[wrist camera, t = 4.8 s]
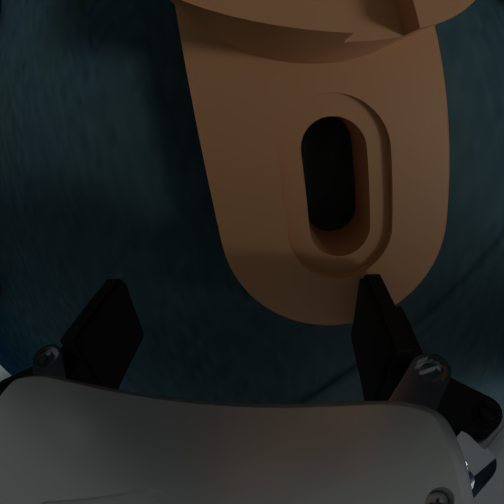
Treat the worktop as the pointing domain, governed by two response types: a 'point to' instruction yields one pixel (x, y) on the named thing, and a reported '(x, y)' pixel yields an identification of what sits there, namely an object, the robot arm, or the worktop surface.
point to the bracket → (297, 122)
